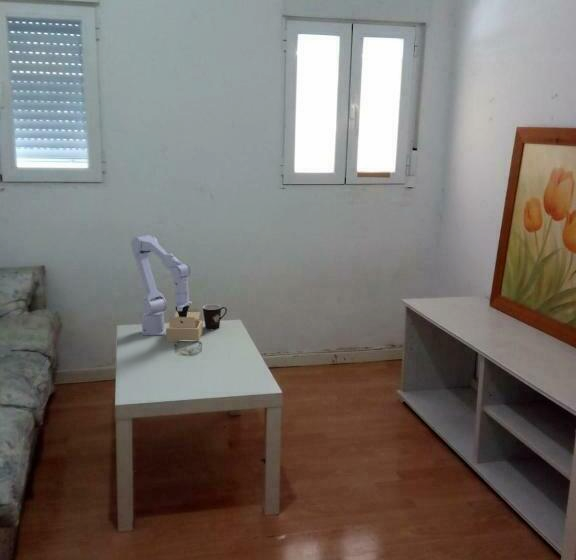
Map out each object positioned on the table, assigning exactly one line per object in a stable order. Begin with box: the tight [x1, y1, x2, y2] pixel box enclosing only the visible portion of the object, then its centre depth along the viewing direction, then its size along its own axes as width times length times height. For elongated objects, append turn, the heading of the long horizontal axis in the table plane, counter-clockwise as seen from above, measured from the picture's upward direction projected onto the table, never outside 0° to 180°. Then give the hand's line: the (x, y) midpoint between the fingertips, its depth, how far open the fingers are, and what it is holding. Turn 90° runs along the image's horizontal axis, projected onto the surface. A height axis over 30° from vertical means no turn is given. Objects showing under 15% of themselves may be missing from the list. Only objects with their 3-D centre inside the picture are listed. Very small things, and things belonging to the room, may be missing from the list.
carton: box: [165, 319, 204, 343], centre depth 281 cm, size 14×12×6 cm
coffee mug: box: [202, 303, 228, 331], centre depth 294 cm, size 12×9×10 cm
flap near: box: [168, 316, 195, 328], centre depth 274 cm, size 5×11×1 cm
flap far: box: [174, 311, 201, 320], centre depth 287 cm, size 5×11×1 cm, turn 90°
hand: (183, 322), depth 274 cm, fingers closed, pressing on flap near
